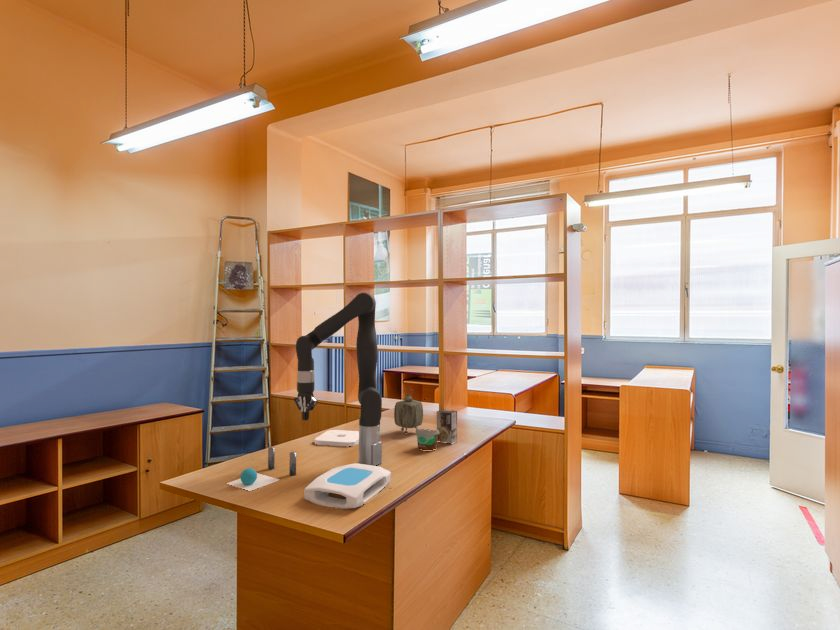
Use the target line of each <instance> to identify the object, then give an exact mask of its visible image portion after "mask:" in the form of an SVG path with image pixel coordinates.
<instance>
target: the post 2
mask: <svg viewBox="0 0 840 630" xmlns="http://www.w3.org/2000/svg"><path fill="white" fill-rule="evenodd" d="M288 470H289V471H288V472H289V476H290V477H293V476H294V477H295V476H297V451H290V452H289V469H288Z"/></svg>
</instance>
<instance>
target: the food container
mask: <svg viewBox="0 0 840 630" xmlns="http://www.w3.org/2000/svg"><path fill="white" fill-rule="evenodd" d="M415 434H416V438H417V448H419V449H422V450H433V449H436V448H437V447H438V442H437V441H438V434H440V433H439V429H438V430H437V429H436V430H433V429H428V428H426V429H425V428H422V429H421V428H418V427H417V428H415ZM419 449H418V450H419ZM437 449H438V448H437Z"/></svg>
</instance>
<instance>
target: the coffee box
mask: <svg viewBox="0 0 840 630" xmlns="http://www.w3.org/2000/svg"><path fill="white" fill-rule="evenodd" d="M438 429H439V433H440V434H438V441H440V442H447V443H453V442H455V441H457V442H458V411H457V410H451V409H445V408H444V409H439V410H437V411H436V430H438Z"/></svg>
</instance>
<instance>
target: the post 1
mask: <svg viewBox="0 0 840 630" xmlns="http://www.w3.org/2000/svg"><path fill="white" fill-rule="evenodd" d="M275 448H276V447H275V446H268V447H267V470H268V469H269V470H268V471H272V469H273V470H274V469H275V450H276V449H275Z"/></svg>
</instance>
